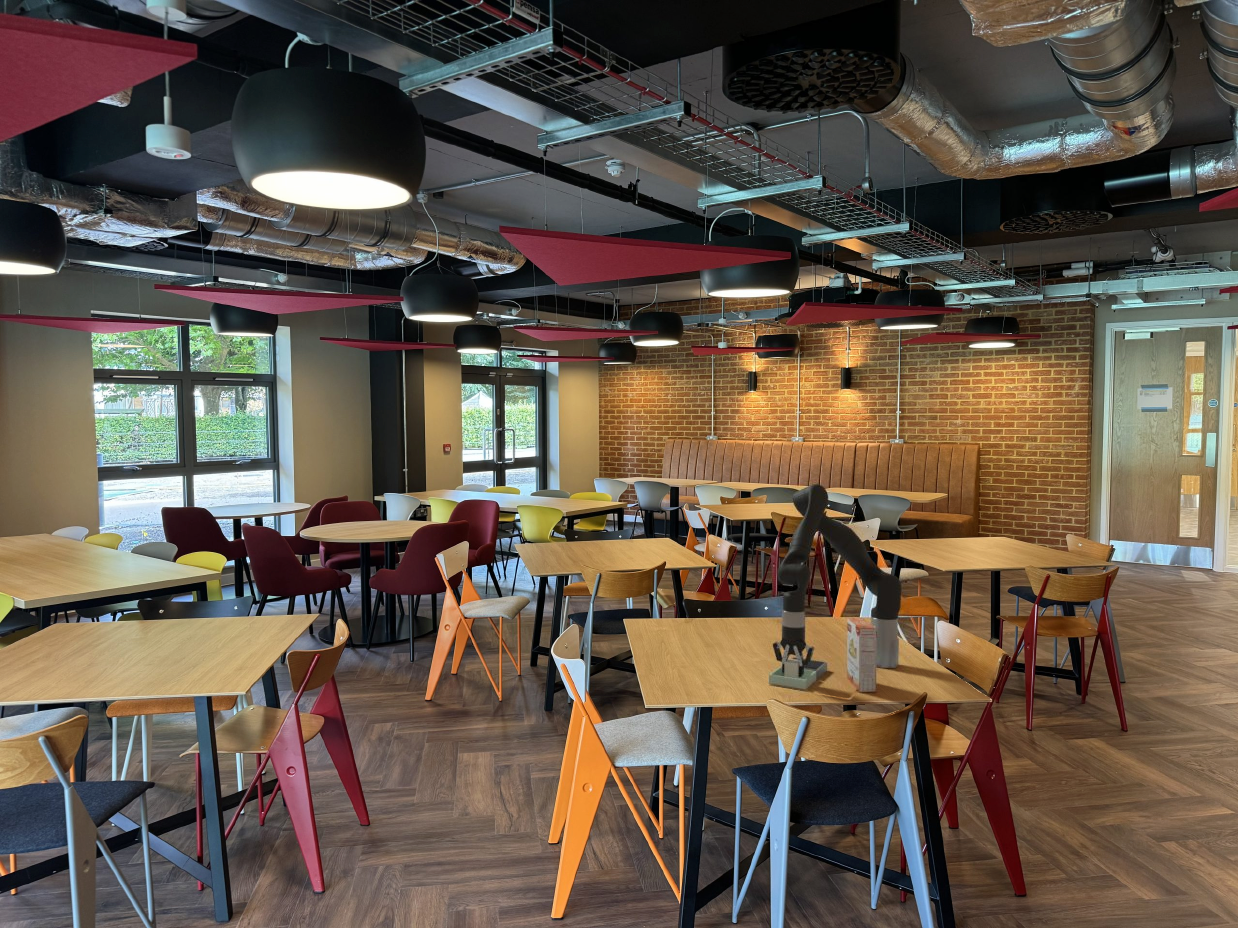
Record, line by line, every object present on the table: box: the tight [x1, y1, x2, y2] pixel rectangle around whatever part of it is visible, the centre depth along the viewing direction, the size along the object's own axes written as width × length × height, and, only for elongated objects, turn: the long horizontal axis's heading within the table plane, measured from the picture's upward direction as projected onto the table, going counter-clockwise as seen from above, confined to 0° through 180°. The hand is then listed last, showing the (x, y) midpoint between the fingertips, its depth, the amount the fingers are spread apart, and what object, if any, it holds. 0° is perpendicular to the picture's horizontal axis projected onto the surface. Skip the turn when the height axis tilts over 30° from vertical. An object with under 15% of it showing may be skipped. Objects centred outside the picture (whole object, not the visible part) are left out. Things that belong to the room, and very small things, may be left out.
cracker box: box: [846, 618, 877, 693], centre depth 257 cm, size 14×6×21 cm, turn 179°
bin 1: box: [768, 665, 817, 692], centre depth 259 cm, size 12×12×4 cm
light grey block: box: [784, 658, 799, 679], centre depth 259 cm, size 4×4×5 cm
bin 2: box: [790, 656, 828, 680], centre depth 270 cm, size 12×12×4 cm
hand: (792, 675), depth 259 cm, fingers closed on light grey block, 4 cm apart
